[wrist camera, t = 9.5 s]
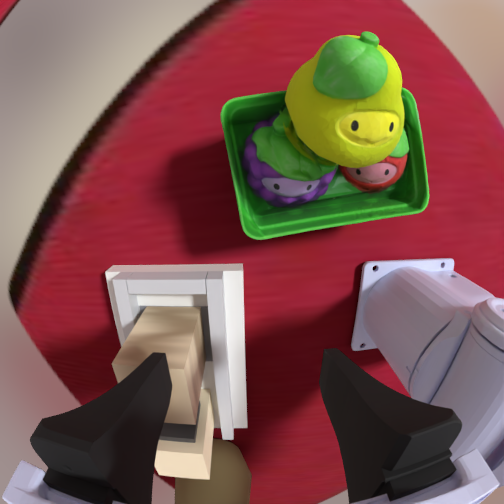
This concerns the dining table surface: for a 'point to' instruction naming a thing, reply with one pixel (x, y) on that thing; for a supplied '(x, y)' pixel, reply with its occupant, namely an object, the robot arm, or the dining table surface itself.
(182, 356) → the maple finger
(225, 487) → the squeeze bottle
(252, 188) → the fruit basket
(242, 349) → the rail
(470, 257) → the dining table surface
